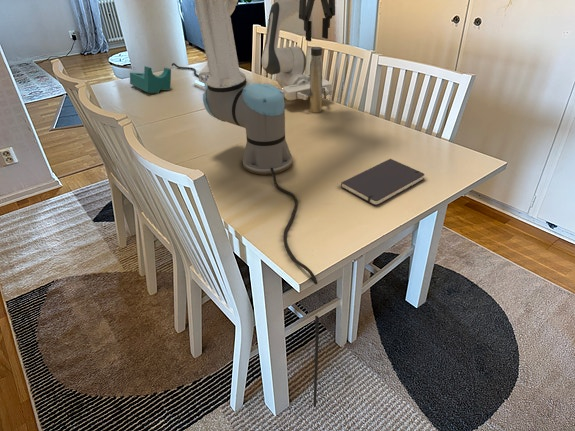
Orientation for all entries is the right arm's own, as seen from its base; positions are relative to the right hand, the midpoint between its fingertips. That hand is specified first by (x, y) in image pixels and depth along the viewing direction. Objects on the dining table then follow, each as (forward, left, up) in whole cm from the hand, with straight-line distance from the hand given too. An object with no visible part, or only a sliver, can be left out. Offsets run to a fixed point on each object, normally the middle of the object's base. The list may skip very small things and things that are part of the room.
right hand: (316, 39), depth 145 cm
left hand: (-1, 0, -20) cm, 20 cm away
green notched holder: (+46, +67, -27) cm, 85 cm away
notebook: (-59, -5, -27) cm, 65 cm away
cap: (0, 0, -3) cm, 3 cm away
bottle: (0, 0, -27) cm, 27 cm away
